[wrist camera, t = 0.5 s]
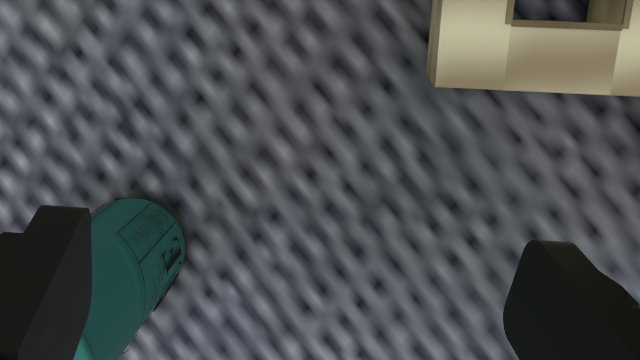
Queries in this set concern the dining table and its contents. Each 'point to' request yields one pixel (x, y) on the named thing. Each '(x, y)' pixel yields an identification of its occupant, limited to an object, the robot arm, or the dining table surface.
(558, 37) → the socket
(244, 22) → the dining table surface
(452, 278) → the dining table surface
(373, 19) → the dining table surface
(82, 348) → the beverage bottle
